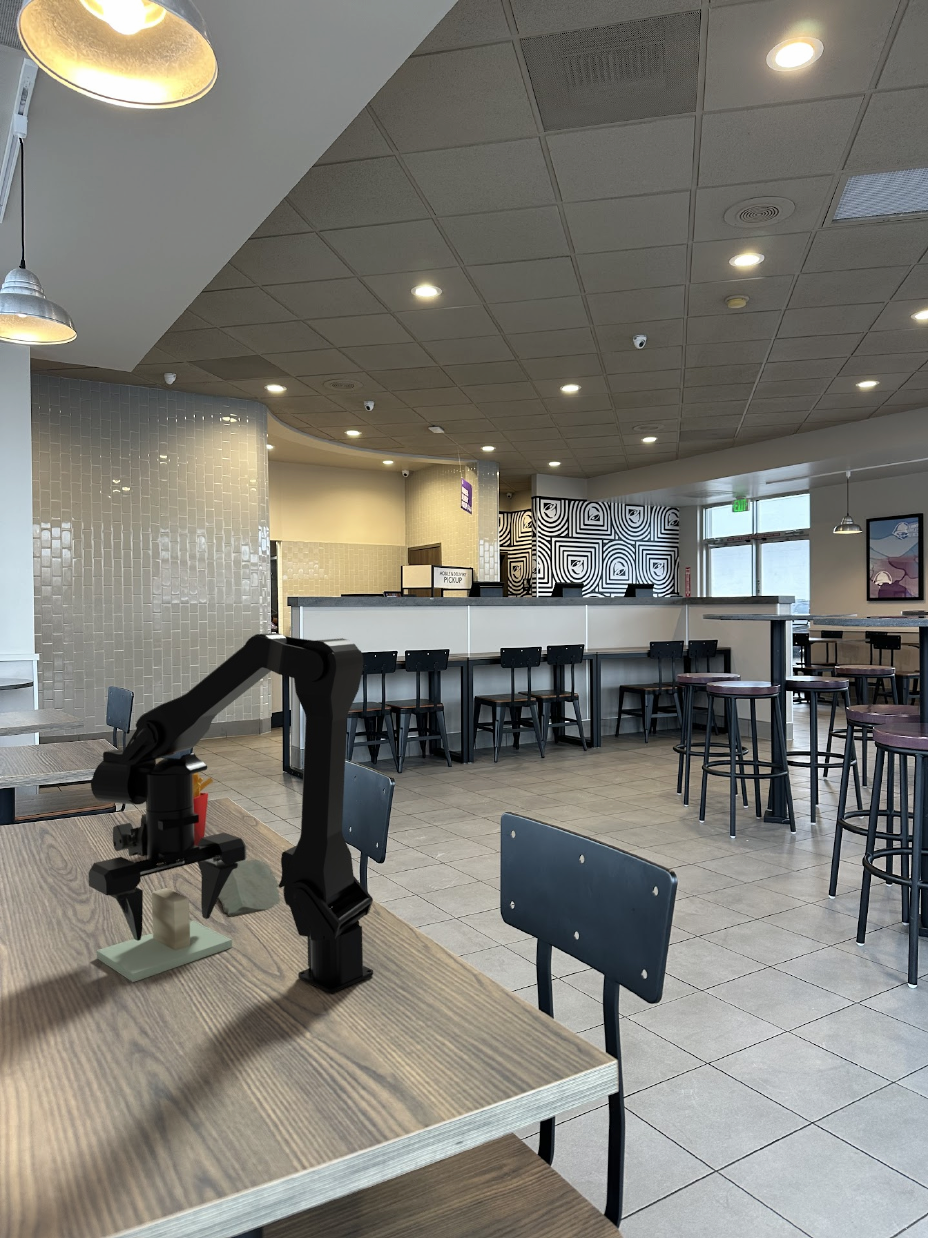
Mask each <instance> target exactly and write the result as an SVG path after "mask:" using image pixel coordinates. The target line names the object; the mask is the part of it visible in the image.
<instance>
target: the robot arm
mask: <svg viewBox="0 0 928 1238" xmlns="http://www.w3.org/2000/svg"><path fill="white" fill-rule="evenodd" d="M364 663H365V662H364V656H363V653H362V650H361V649H359V648H358V646H357V645H356V644H355V643H354V642H353V641H351V640H349V639H347V638H343V637H342V638H332V639H331V638H330V639H328V638H327V639H317V640H313V639H307V638H298V637H292V636H289V635H288V636H287V635H284V634H282V633H279V632H273V633H271V632H270V633H258V634H254V635H252V636H251V637H250V638H248V639H247V641H245V644H244V645H243V646H242V647H241V648H239V649H238V650H237V651H236V652H234V653H233V654H232V655H231V656H230V657H228V658H227V659H226V660H225V661H223V662H222V663H221V664H220V665H219V666H217V668H215V669H214V670H213V671H211V672H210V673H209V674H208V675H206V677H204V678H203V679H201V681H200V682H198V683H197V684H196V685H194V687H191V689H190V690H188V691H187V692H186V693H185V694H183V695H181V696H179V697H176V698H174V699H172V700H168V701H167V702H164V703H161V704H160V705H157V706H156V707H154V708H152V709H150V710H148V711H146V712H145V713H144V712H143V714H141V715H140V716H139V717H138V719H137V721H136V723H135V731H134V733H133V734H132V735H131V738H130V740H129V741H128V743H127V745H126V746H125V748H124V750H123V749H111V750H110V749H109V750H106V751H104V752H102V761H100V763H99V764H98V765H97V766H96V767H95V770H94V771H93V774H92V778H91V780H90V788H91V789H90V790H91V792H92V794H93V796H94V797H95V799H97V800H98V801H100V802H103V803H112V804H113V803H114V804H126V805H134V806H135V805H136V806H137V805H143V804H145V813H144V814H141V818H140V825H139V827H135V828H134V826H133V825H132V823H131V822H127V823H122V824H117V825H115V826H113V827H112V842H113V843H112V844H113V849H114V850H115V852H120V851H124V850H127V851H128V856H129V857H133V856H139V857H146V859H141V860H138V861H132V860H130V859H127V858H125V857H123V856H118V857H115V858H110V859H105V860H100V861H97V862H93V863H92V865H91V867H90V868H89V871H88V873H87V874H88V886H89V887H90V888H92V889H94V890H96V891H98V892H99V893H102V894H103V895H105V896H110V897H112V899H113V898H114V899H115V900H116V902H117V904H118V905H119V906H120V908H121V910H122V913H123V915H124V918H125V921H126V922H127V925H128V928H129V930H130V933H131V934H132V937H133V939H135V940H137V941H139V940H141V936H143V935H142V933H143V917H144V916H143V912H144V911H143V909H144V908H143V906H144V905H143V903H144V895H143V894H144V890H143V889H141V888H139V887H138V885H139V884H140V883H141V881H142V879H141V877H145V876H150V875H154V874H157V873H161V872H165V871H169V870H172V869H177V868H179V867H180V868H181V867H185V866H188V865H191V864H196V863H197V866H198V868H199V871H200V874H201V894H200V895H201V898H200V899H201V901H200V904H201V905H200V906H201V907H200V908H201V914H202V918H203V919H206V920H208V919H210V917H211V915H212V913H213V910H214V907H215V906H216V903H217V901H218V899H219V898H218V897H219V894H220V892H221V890H222V888H223V886H224V884H225V883H226V881H227V879H228V877H229V875H230V874H231V872H232V870H233V869H236V868H238V863H236V862H239V861H246V859H247V845H246V842H245V841H244V840H243V839H242V838H241V837H239V836H235V835H233V834H229V833H227V832H220V833H216V834H211V835H207V836H204V837H203V838H201V840H200V841H199V843H198V846H196V845H194V823H199V815H198V814H195V813H194V805H193V774H194V773H198V774H199V773H201V772H205V771H207V770H208V765H207V764H206V763H205V762H204V761H203V760H201V759H200V758H198V756H197V754H195V752H190V753H187V754H183V755H181V756H180V758H174V757H172V756H174V755H176V753H179V752H183V751H188V750H191V749H192V748H194V747H195V746H196V745H197V744H198V743H199V742H200V741H201V739H202V738H203V737H204V736H205V735H206V734H207V733H208V731H209V730H210V728H211V725H212V722H213V721H214V719H215V718H216V717H217V716H218V715H219V713H221V712H222V711H223V710H225V709H226V708H227V707H228V706H229V705H231V704H233V702H235V701H236V700H237V699H239V698H240V696H242V695H243V694H245V693H246V692H247V691H248V690H249V689H251V688H252V687H253V686H255V685H256V684H257V683H259V682H260V681H261V680H262V679H263V678H265V677H266V676H267V675H268V674H270V673H271V672H273V673H275V674H277V675H280V676H284V677H287V678H293V682H294V690H295V695H296V696H297V699H298V701H299V704H300V706H301V709H303V712H304V716H305V725H304V726H305V727H304V729H305V730H304V748H303V749H304V754H303V772H302V773H303V775H302V794H301V795H302V800H301V802H302V803H301V821H300V822H301V823H300V836H299V840H298V841H297V843H296V845H294V846H292V847H290V848H288V849H287V850H284V851H282V853H281V857H280V858H281V859H280V864H281V865H280V866H281V879H280V881H279V883H278V884H279V886H278V888H279V889H280V888H283V899H284V903H285V904H286V906H289V908H290V912H291V915H292V917H293V921H294V924H295V926H296V930H297V933H298V935H299V936H301V937H307V966H308V968H307V969H303V970H301V971H299V972H298V973H297V974H298V975H297V977H298V978H299V979H300V980H302V981H304V982H306V983H308V984H310V985H312V986H314V987H316V988H318V989H320V990H322V991H324V992H326V993H328V994H334V993H336V992H338V991H341V990H343V989H346V988H347V987H349V986H353V985H354V984H356V983H359V982H361V981H363V980H365V979H369V978H370V977H373V976H374V970H373V969H372V968H369V967H368V966H365V965H364V959H363V958H364V957H363V955H364V953H363V951H364V948H363V946H364V945H363V926H362V925H360V920H361V919H362V918H364V917H365V916H367V915H368V914H369V913H370V911H371V908H372V904H373V901H374V899H373V896H372V895H371V894H370V893H369V892H368V891H367V889H366V888H365V887H364V886H363V885H362V883H361V882H360V881H359V880H358V879H357V878H356V877H355V875H354V867H353V866H354V865H353V860H352V859H353V858H352V853H351V851H350V848H349V846H348V843H347V842H346V840H345V837H344V833H343V818H344V817H343V815H344V797H345V796H344V794H345V770H346V769H345V768H346V748H347V725H348V724H347V722H348V714H349V712H350V710H351V707H352V705H353V704H354V702H355V698H356V697H357V694H358V692H359V690H360V684H361V679H362V675H363V669H364ZM170 756H171V757H170ZM161 758H163V759H161ZM159 759H161V760H160V761H158V762H156V761H157V760H159Z"/></svg>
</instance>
